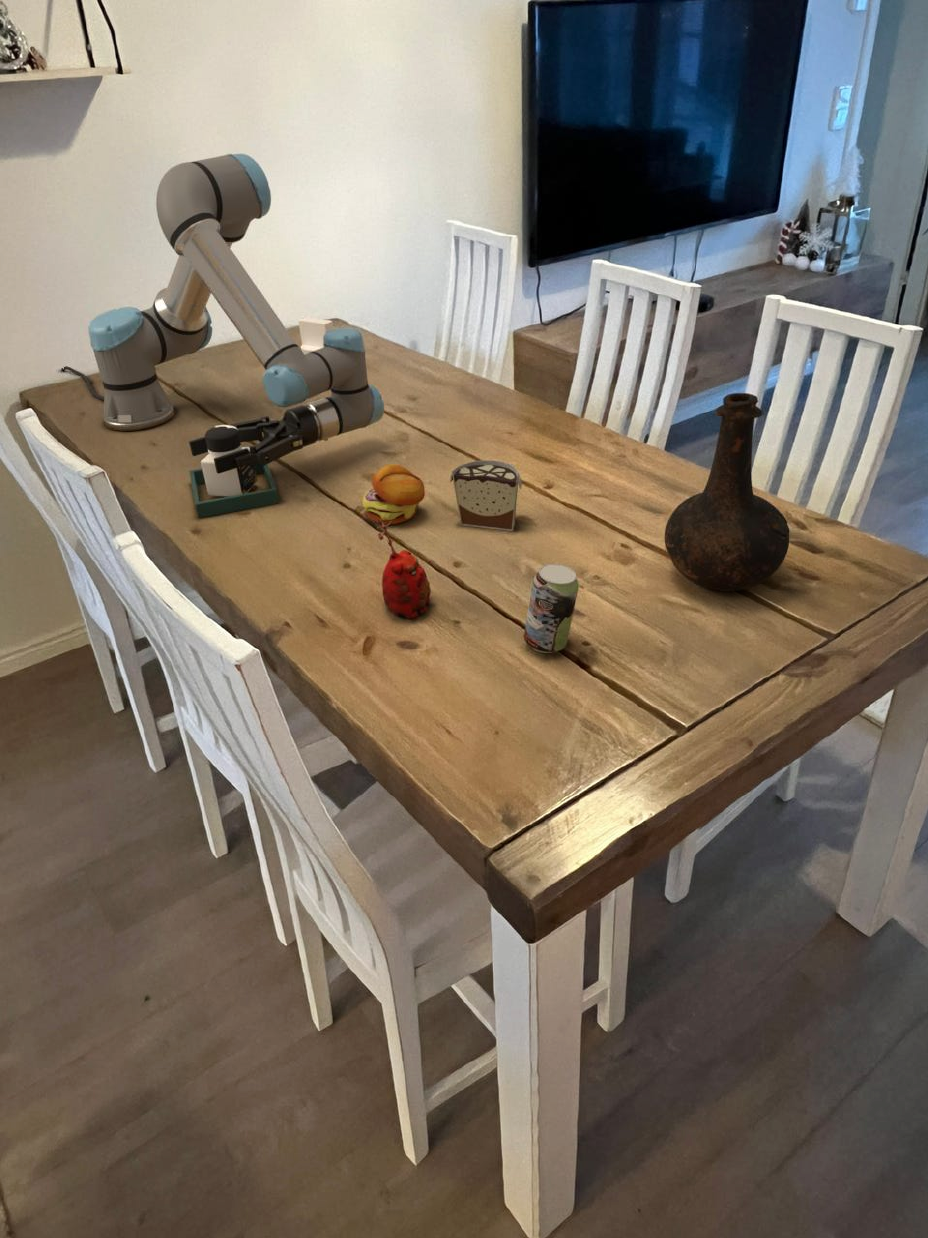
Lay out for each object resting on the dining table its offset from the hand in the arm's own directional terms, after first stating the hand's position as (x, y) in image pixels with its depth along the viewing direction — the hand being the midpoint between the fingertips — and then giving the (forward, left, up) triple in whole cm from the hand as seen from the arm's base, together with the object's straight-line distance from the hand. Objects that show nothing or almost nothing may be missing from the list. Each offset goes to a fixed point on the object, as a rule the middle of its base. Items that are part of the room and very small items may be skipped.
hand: (203, 457), depth 164 cm
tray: (-1, +4, -9) cm, 10 cm away
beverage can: (+67, +40, -9) cm, 78 cm away
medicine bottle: (-1, +4, -8) cm, 9 cm away
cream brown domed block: (+29, +45, -9) cm, 54 cm away
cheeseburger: (+20, +30, -9) cm, 37 cm away
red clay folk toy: (+50, +24, -9) cm, 56 cm away
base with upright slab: (-65, +33, -9) cm, 74 cm away
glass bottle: (+60, +71, -9) cm, 93 cm away
